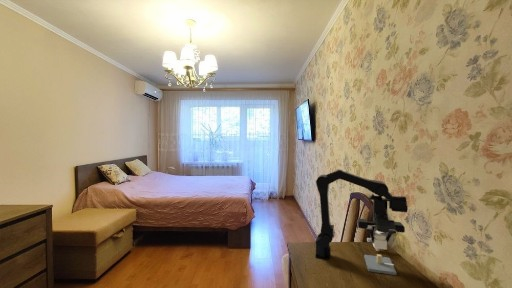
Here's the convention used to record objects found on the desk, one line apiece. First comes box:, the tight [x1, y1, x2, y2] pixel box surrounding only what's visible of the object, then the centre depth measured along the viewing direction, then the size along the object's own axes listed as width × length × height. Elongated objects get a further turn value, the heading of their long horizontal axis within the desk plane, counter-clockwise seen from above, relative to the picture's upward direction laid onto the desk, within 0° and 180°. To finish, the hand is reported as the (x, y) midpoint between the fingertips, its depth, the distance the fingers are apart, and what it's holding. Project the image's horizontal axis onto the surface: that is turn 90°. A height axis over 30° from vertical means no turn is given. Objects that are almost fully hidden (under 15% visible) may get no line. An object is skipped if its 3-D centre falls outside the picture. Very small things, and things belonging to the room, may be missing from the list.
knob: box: [371, 230, 388, 250], centre depth 112 cm, size 5×5×6 cm
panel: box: [363, 253, 398, 276], centre depth 112 cm, size 12×13×5 cm
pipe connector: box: [366, 237, 390, 252], centre depth 127 cm, size 10×10×10 cm
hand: (379, 243), depth 112 cm, fingers closed on knob, 5 cm apart
